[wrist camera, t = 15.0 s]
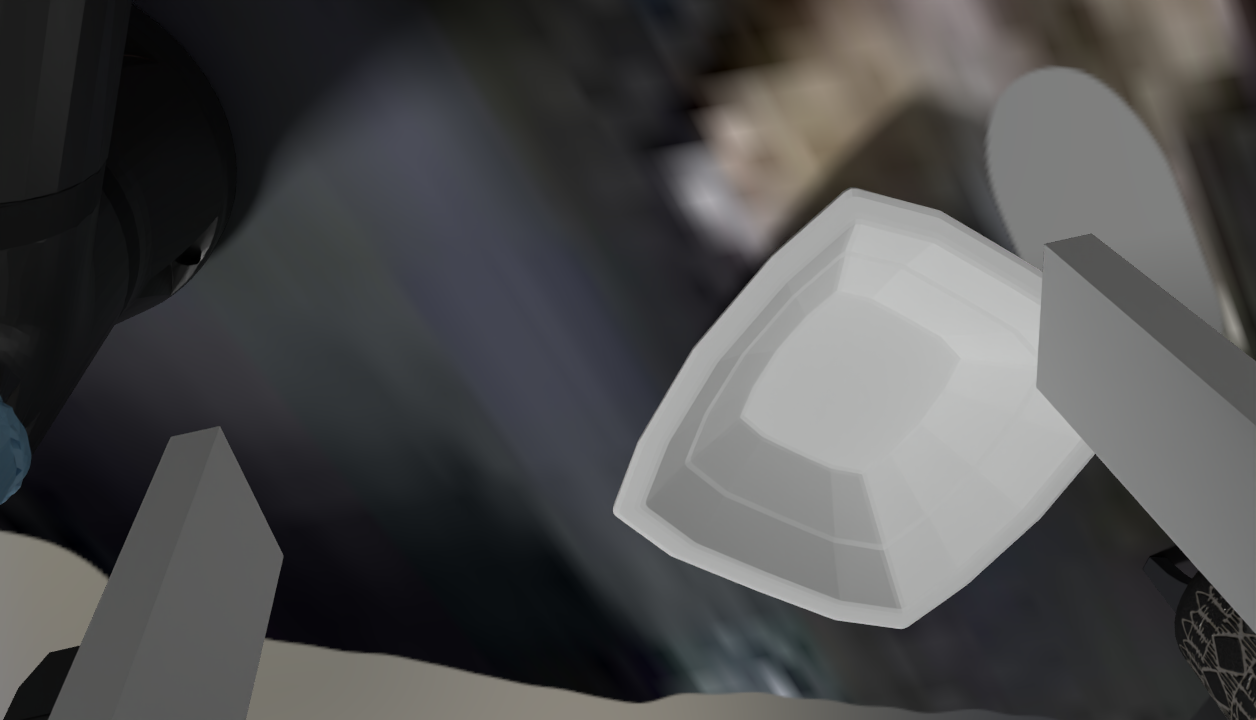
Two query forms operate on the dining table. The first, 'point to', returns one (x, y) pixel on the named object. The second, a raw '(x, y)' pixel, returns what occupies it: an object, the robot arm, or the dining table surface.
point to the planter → (1210, 637)
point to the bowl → (859, 419)
